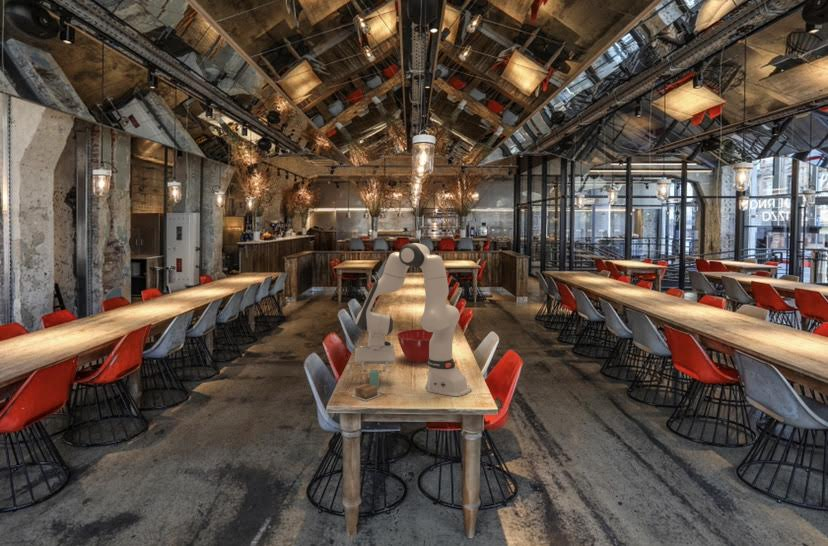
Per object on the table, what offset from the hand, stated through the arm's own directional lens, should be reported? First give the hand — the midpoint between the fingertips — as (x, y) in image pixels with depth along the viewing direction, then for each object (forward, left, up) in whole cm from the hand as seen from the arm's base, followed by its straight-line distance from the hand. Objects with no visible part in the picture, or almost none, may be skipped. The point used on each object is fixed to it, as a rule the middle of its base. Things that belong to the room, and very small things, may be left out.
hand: (374, 371), depth 242 cm
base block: (-8, +13, -7) cm, 17 cm away
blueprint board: (-8, +13, -7) cm, 17 cm away
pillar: (-2, +2, -7) cm, 8 cm away
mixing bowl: (+12, -50, -7) cm, 52 cm away
